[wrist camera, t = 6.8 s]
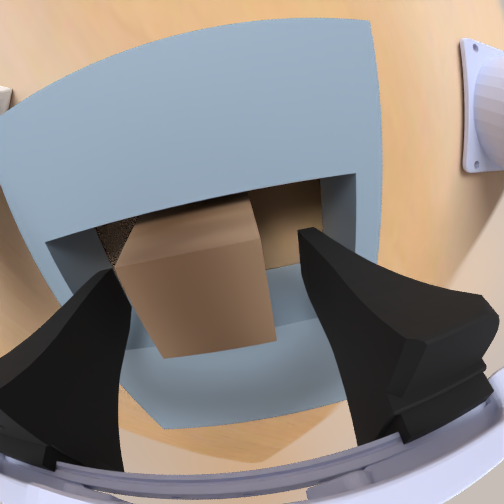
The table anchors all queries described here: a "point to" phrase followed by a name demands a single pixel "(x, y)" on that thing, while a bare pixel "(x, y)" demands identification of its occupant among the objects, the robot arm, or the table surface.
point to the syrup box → (4, 99)
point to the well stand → (206, 186)
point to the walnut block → (199, 277)
